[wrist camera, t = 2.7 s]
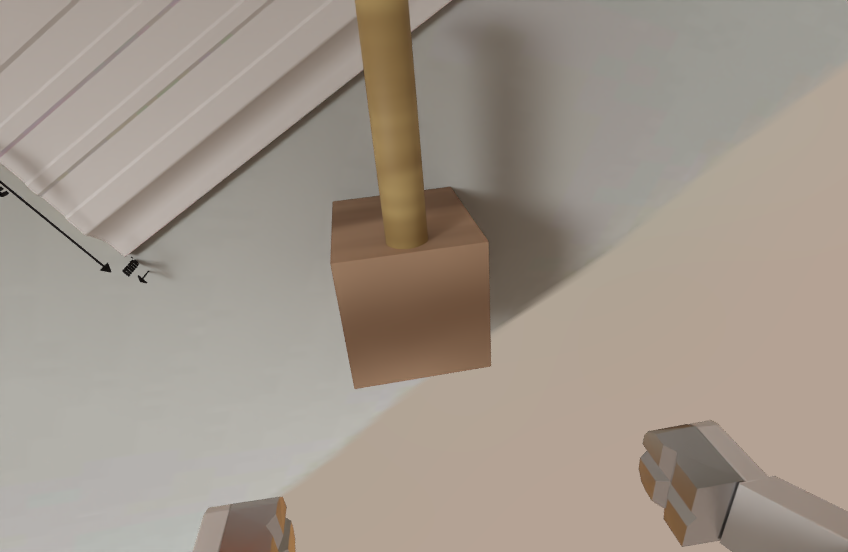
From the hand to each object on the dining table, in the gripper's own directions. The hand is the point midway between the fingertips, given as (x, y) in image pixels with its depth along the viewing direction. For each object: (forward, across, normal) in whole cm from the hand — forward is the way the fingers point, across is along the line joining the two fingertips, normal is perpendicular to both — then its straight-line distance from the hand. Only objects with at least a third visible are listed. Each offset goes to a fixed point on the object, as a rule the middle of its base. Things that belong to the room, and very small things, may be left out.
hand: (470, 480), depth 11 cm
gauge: (+12, 0, -4) cm, 13 cm away
